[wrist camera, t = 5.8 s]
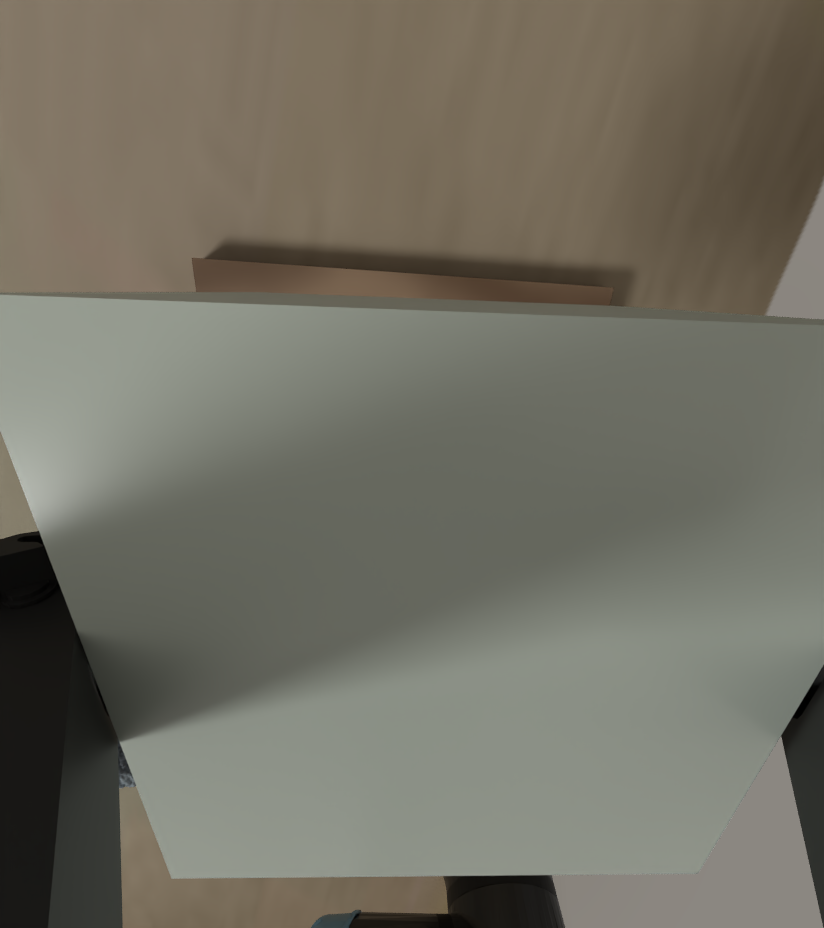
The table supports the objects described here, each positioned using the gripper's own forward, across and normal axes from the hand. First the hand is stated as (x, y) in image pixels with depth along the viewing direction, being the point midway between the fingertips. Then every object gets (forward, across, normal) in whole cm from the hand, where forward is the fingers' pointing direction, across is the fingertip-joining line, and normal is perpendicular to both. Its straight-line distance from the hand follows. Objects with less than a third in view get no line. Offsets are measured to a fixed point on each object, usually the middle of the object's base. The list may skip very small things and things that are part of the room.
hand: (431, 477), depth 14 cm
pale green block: (+1, 0, 0) cm, 1 cm away
